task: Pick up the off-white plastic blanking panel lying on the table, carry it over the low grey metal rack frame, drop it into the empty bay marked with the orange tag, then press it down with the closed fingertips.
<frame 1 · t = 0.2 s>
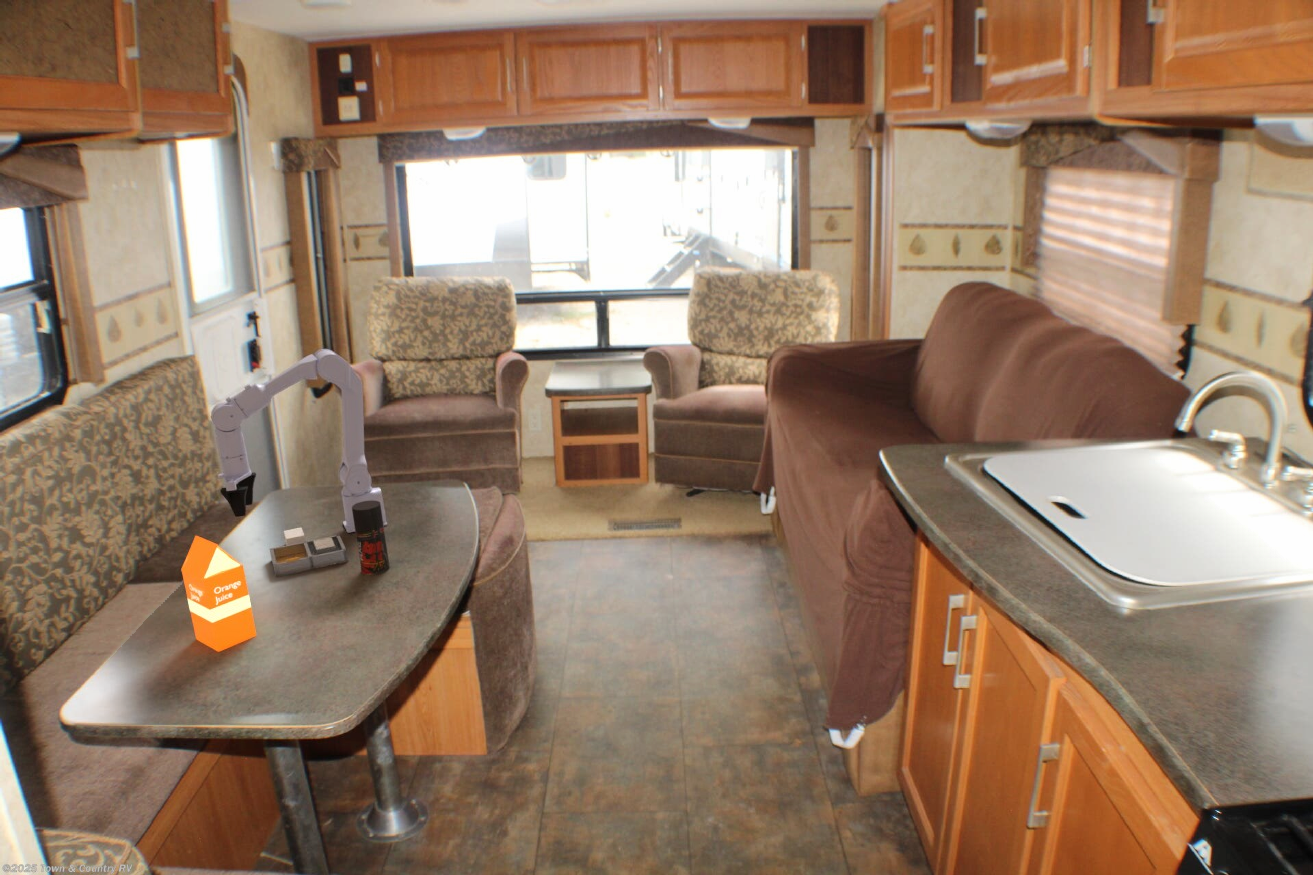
hand: (244, 510, 220), 10 cm above the table, tool pointing down, fingers open, 7 cm apart
orange juice: (226, 638, 180), on the table
deodorant: (375, 570, 208), on the table
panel: (296, 546, 224), on the table
rack: (309, 560, 214), on the table
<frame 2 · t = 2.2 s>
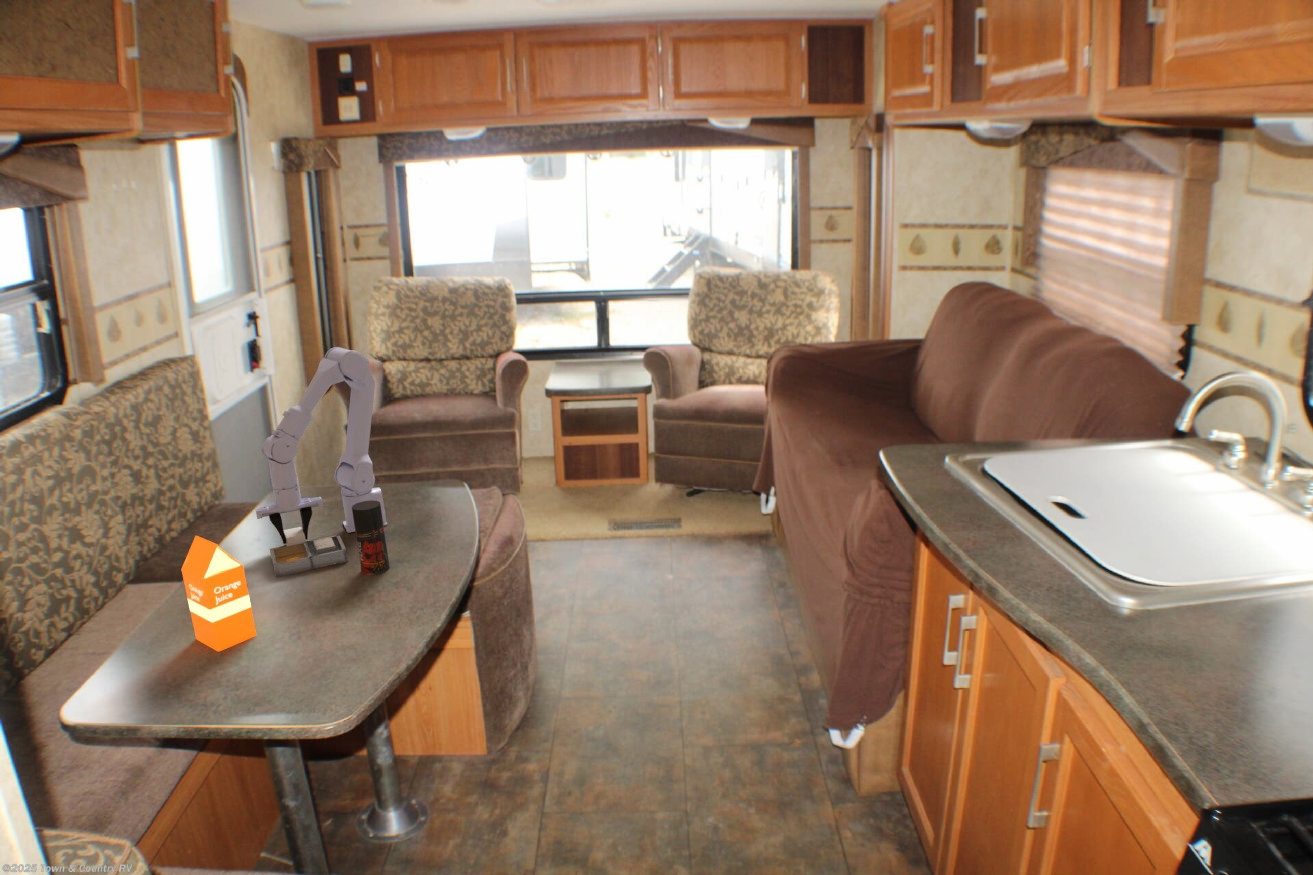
hand: (295, 540, 223), 1 cm above the table, tool pointing down, fingers closed on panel, 4 cm apart
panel: (296, 546, 224), on the table, touching gripper
everything else where it was.
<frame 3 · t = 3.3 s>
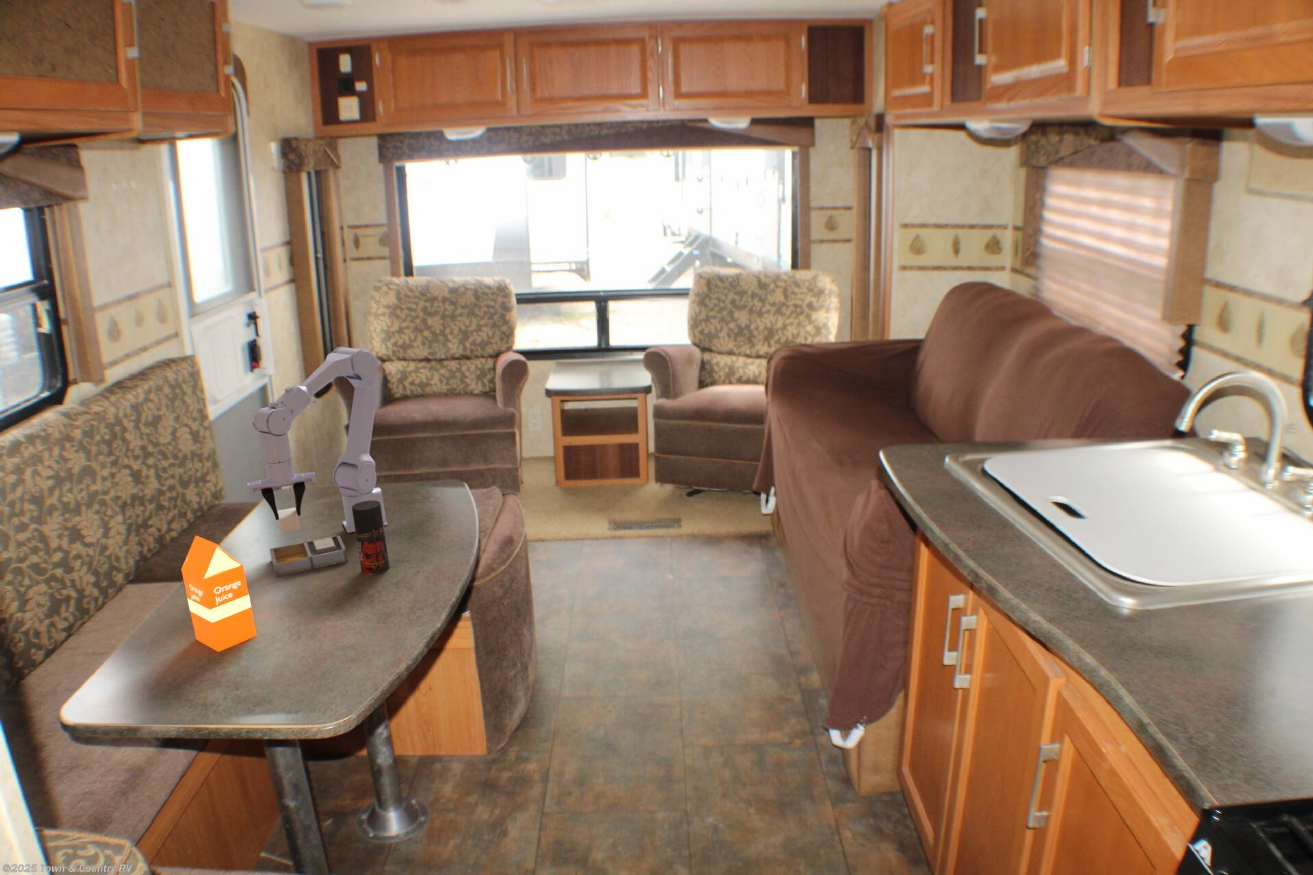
hand: (288, 516, 217), 9 cm above the table, tool pointing down, fingers closed on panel, 4 cm apart
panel: (289, 527, 218), point 6 cm above the table, touching gripper
everything else where it was.
when the fingers open (4 cm above the table, at t = 5.1 s): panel stays where it is, resting on rack.
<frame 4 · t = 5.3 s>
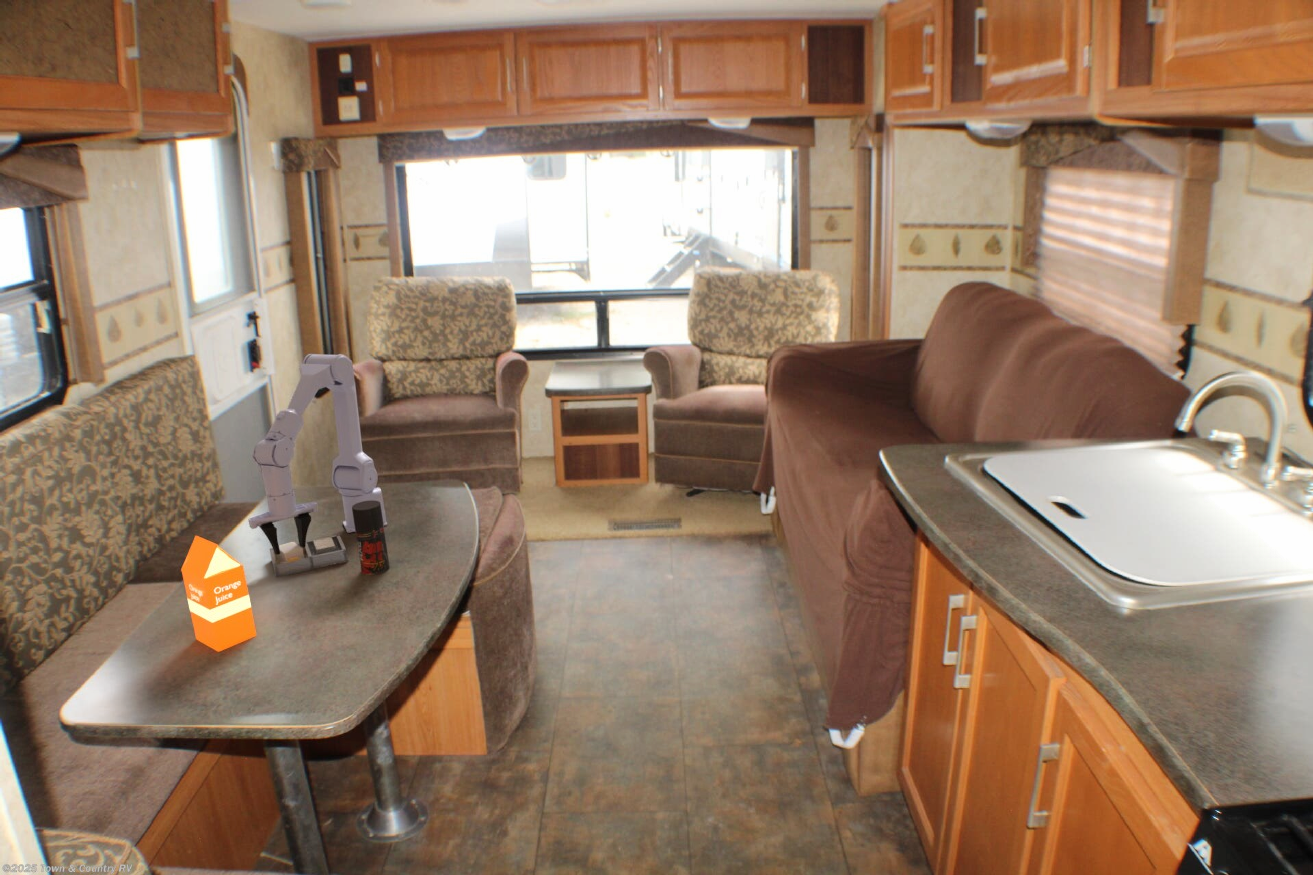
hand: (290, 549, 212), 4 cm above the table, tool pointing down, fingers open, 5 cm apart
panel: (291, 561, 213), resting on rack
everything else where it was.
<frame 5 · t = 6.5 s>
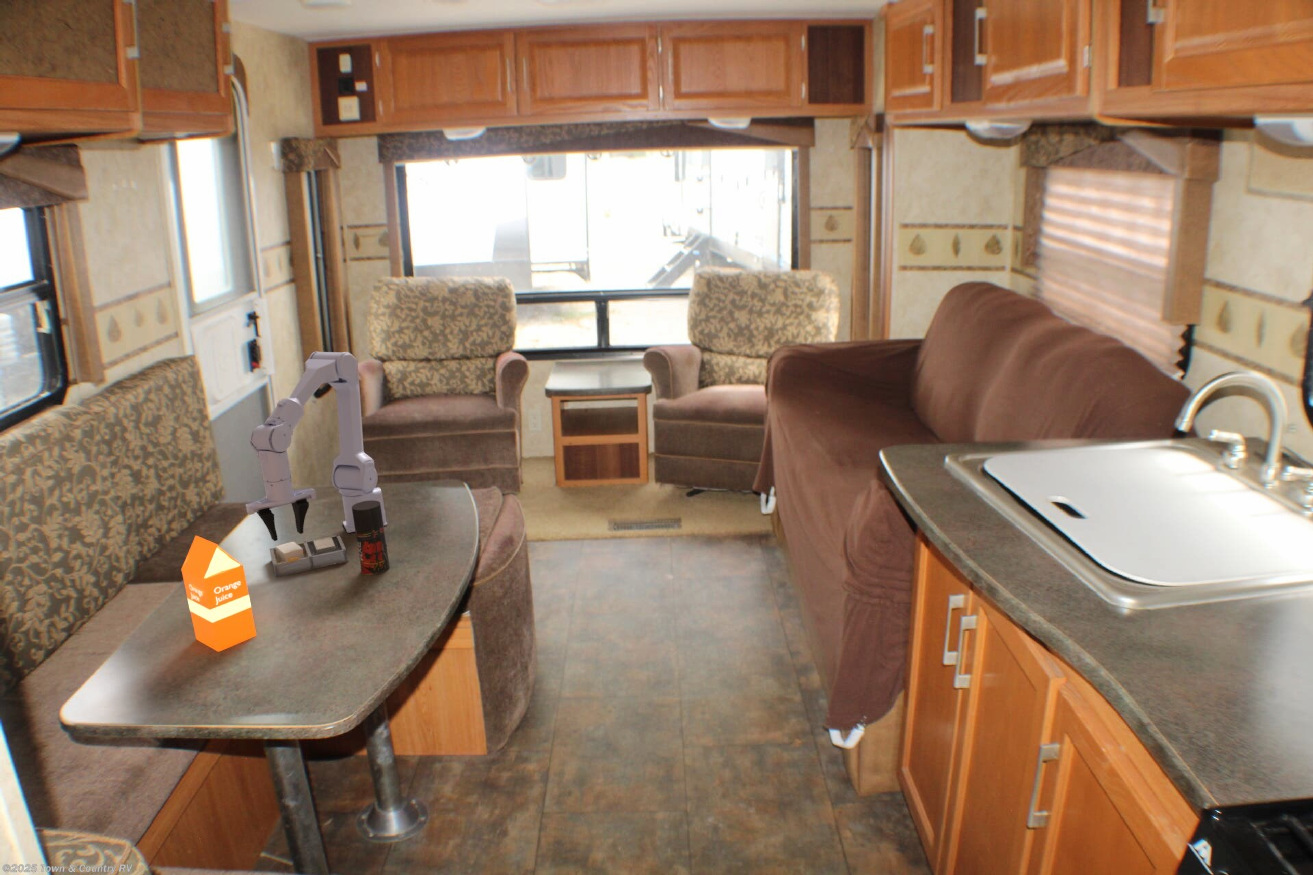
hand: (287, 535, 211), 7 cm above the table, tool pointing down, fingers open, 5 cm apart
nothing on the table moved.
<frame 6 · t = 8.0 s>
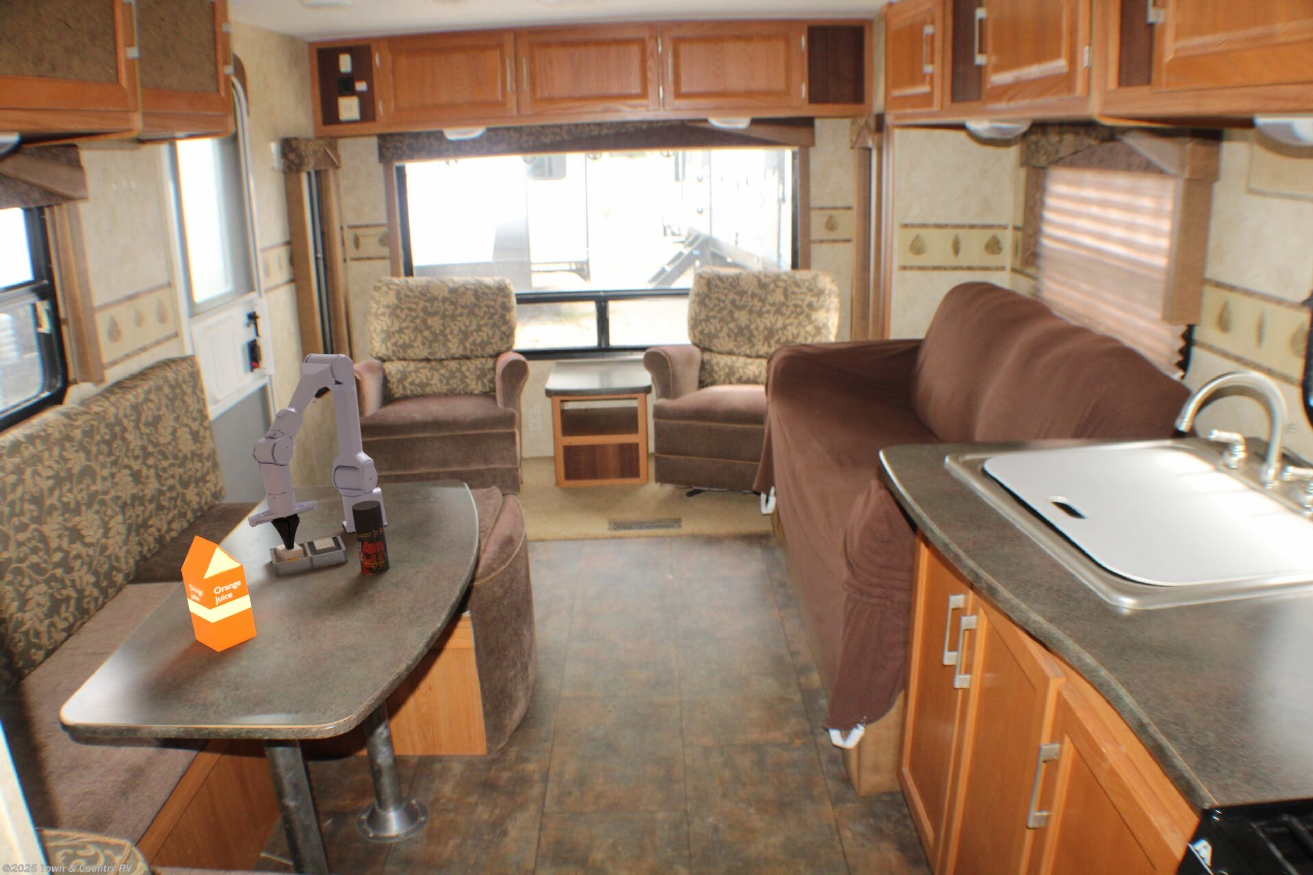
hand: (289, 547, 212), 4 cm above the table, tool pointing down, fingers closed
nothing on the table moved.
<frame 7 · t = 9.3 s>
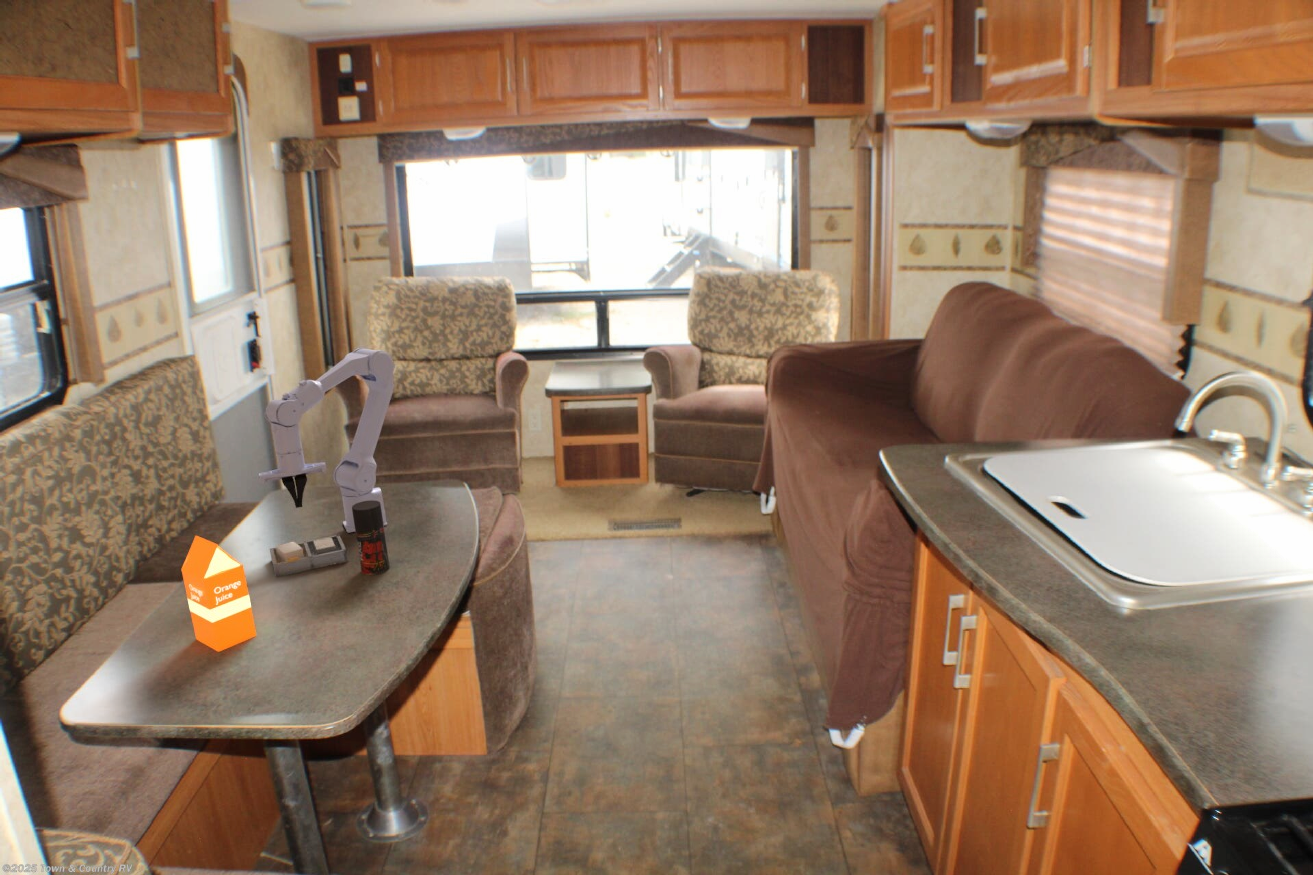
hand: (298, 506, 221), 10 cm above the table, tool pointing down, fingers closed
nothing on the table moved.
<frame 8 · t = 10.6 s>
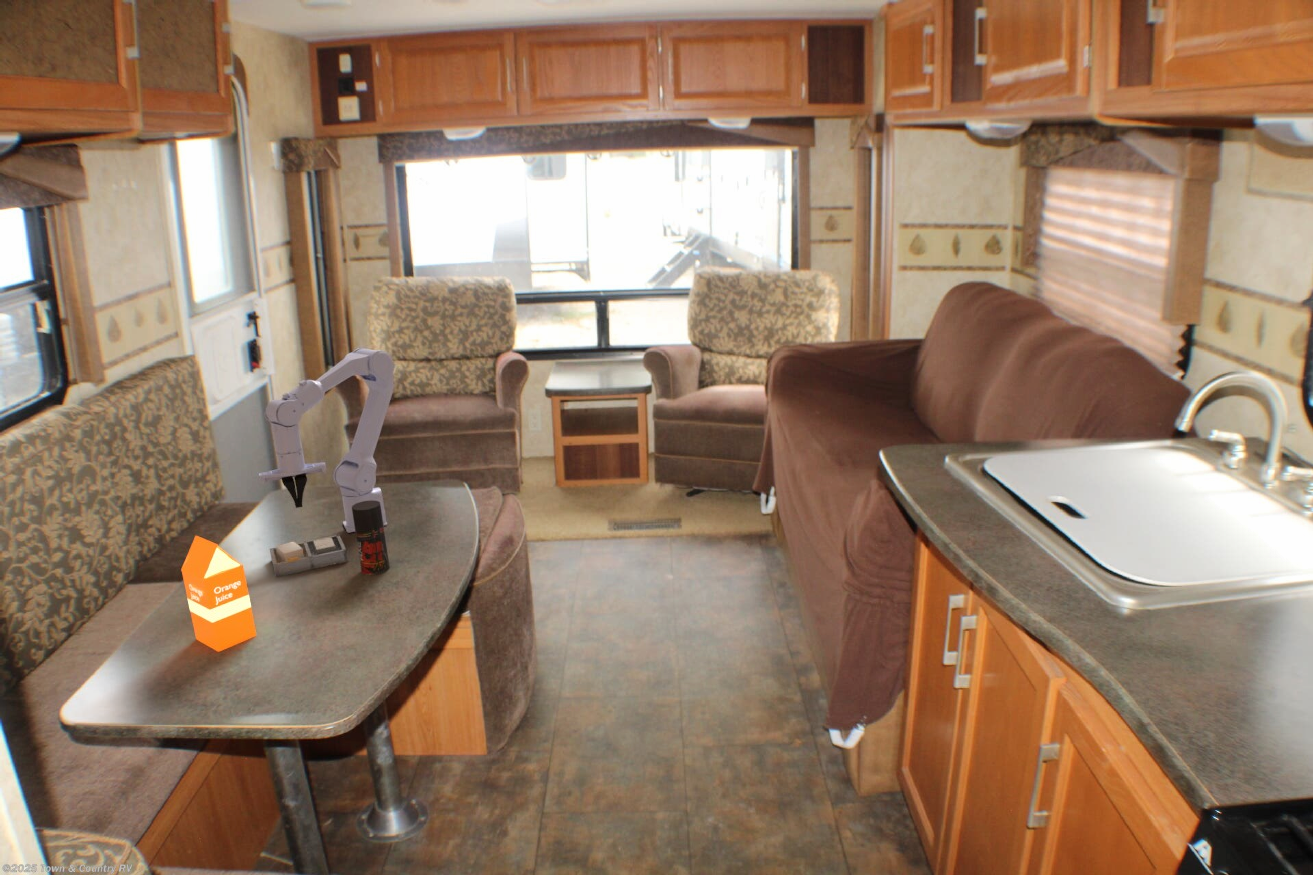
hand: (298, 506, 221), 10 cm above the table, tool pointing down, fingers closed
nothing on the table moved.
at the end: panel 0.5 cm from the target spot on the rack, point 0.5 cm above the rack's base; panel tilted 0°; the gripper is holding nothing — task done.
